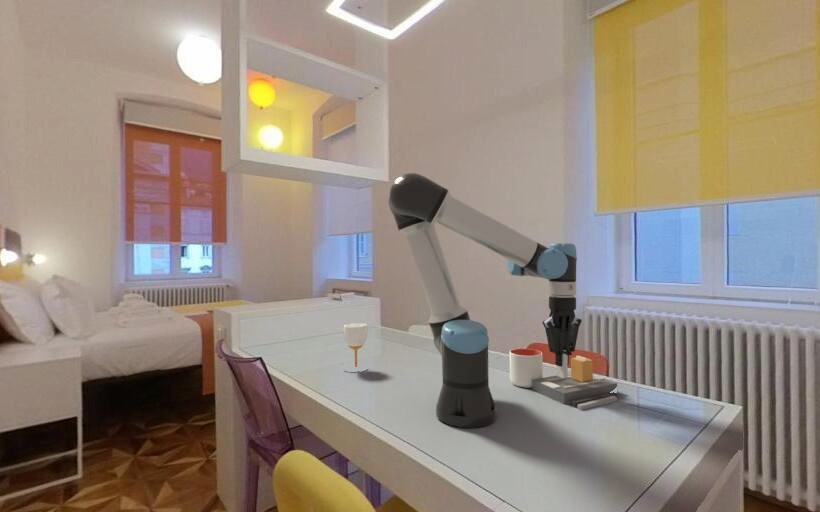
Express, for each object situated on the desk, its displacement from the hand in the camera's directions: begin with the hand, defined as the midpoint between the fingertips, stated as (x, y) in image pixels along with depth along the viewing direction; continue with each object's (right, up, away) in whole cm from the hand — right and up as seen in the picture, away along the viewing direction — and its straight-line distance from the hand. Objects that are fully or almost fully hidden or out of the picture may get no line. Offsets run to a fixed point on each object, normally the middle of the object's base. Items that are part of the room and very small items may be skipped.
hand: (562, 376), depth 116 cm
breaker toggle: (+7, -2, +3) cm, 8 cm away
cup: (-8, -5, +9) cm, 13 cm away
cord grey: (+6, -5, -9) cm, 12 cm away
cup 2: (-64, -6, +28) cm, 70 cm away
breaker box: (+4, -5, +1) cm, 6 cm away
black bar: (+6, -5, -7) cm, 11 cm away
